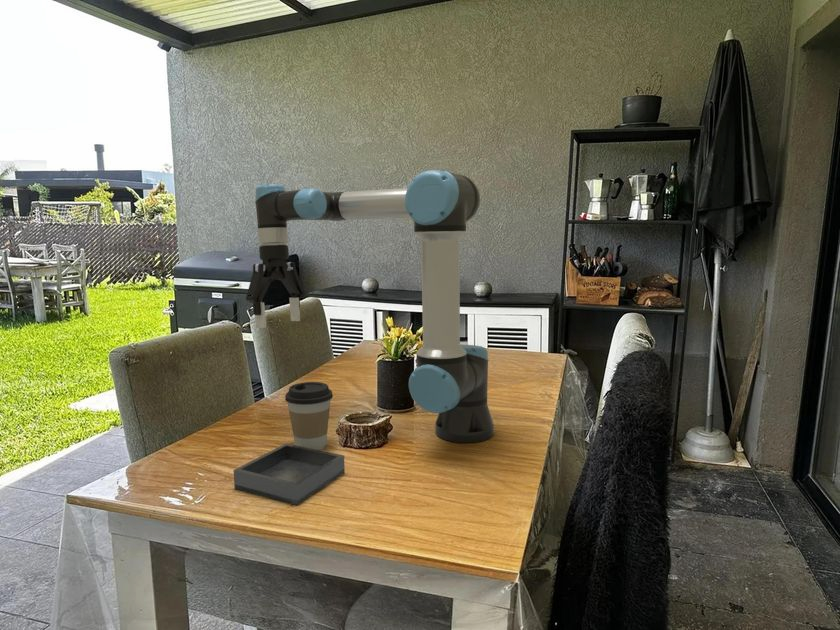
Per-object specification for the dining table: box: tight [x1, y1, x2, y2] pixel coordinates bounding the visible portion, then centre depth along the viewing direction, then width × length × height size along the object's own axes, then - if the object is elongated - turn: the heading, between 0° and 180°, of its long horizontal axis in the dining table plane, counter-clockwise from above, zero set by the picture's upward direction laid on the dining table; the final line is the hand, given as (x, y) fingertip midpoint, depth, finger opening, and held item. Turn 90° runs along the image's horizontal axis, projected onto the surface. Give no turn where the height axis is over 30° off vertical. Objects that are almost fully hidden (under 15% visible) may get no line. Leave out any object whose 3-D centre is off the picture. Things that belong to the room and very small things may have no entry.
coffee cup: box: [284, 381, 334, 451], centre depth 134 cm, size 11×11×15 cm
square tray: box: [233, 443, 345, 506], centre depth 117 cm, size 16×16×4 cm
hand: (278, 324), depth 150 cm, fingers open, 13 cm apart
